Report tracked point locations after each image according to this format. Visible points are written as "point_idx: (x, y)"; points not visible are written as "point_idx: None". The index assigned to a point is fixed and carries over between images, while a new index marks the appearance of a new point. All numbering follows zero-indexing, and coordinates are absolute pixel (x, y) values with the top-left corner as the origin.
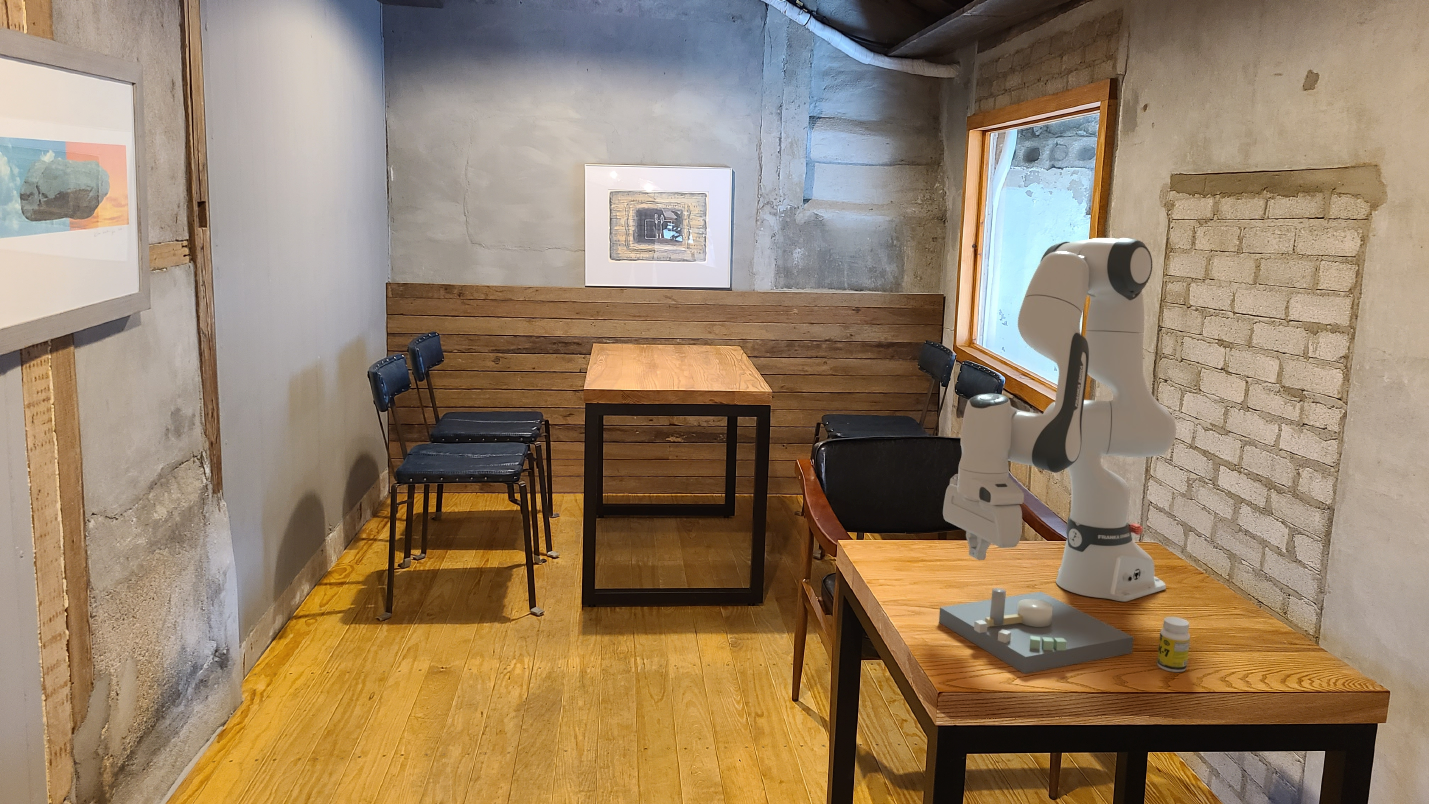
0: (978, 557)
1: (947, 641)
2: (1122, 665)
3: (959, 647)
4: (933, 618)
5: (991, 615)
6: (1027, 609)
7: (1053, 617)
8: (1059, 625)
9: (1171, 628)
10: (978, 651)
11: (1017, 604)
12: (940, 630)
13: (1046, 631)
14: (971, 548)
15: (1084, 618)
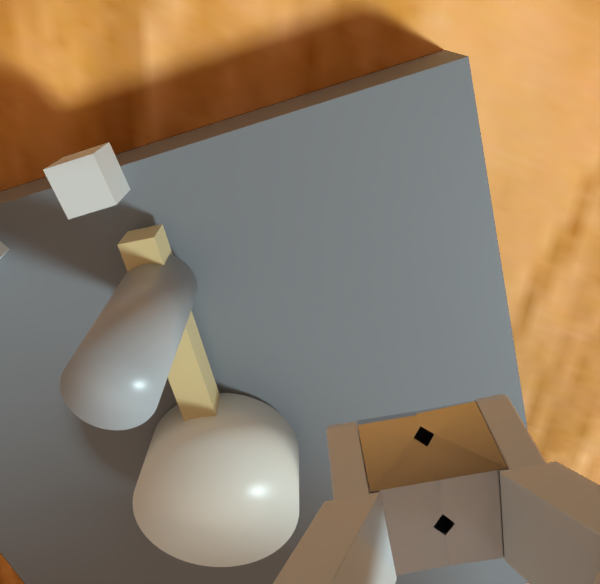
0: (330, 447)
1: (185, 4)
2: (6, 562)
3: (108, 44)
4: (507, 39)
5: (137, 271)
6: (157, 460)
7: None
8: None
9: None
10: (66, 128)
11: None
12: (337, 18)
13: (115, 455)
14: (484, 464)
15: None
